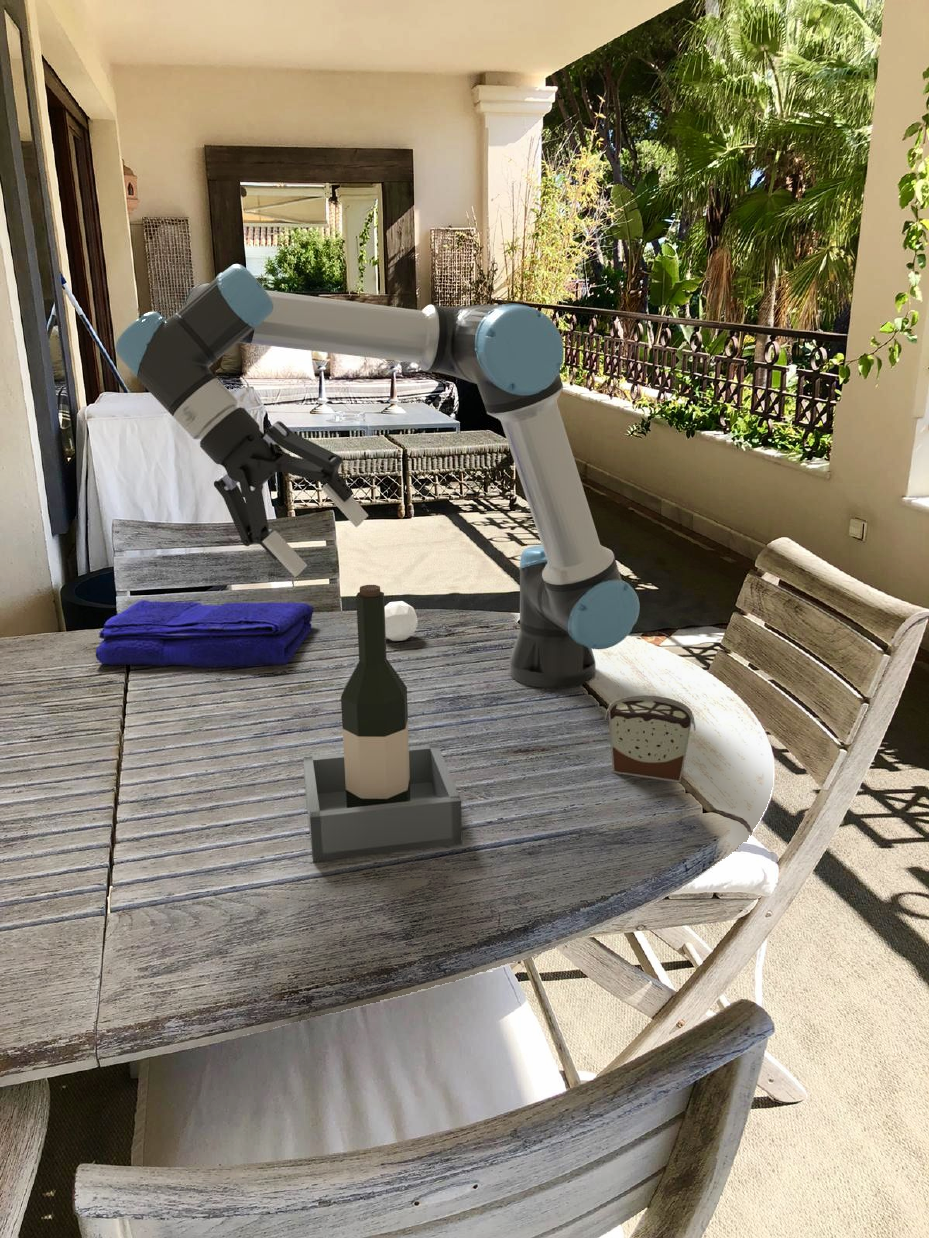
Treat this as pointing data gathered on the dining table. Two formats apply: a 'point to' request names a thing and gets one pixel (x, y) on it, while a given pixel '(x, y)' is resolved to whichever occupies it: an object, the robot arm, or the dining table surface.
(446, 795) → the tote
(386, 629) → the ball
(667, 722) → the food container
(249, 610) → the towel
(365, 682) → the wine bottle
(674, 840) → the dining table surface
